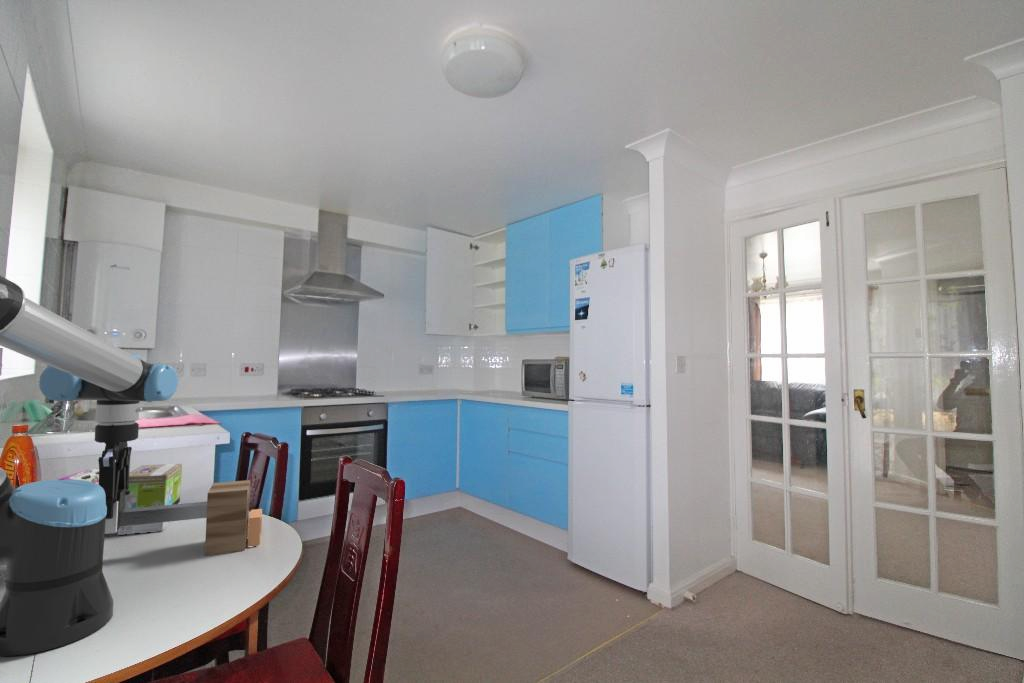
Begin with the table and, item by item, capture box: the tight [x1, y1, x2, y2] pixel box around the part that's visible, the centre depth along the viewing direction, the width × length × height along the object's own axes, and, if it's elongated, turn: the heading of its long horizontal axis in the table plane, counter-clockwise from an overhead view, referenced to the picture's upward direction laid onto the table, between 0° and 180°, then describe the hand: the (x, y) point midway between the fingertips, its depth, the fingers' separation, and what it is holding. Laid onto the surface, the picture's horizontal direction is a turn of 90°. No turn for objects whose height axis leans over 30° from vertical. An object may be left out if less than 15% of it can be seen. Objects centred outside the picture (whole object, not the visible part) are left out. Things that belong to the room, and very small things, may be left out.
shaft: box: [116, 488, 207, 531], centre depth 111 cm, size 4×24×8 cm, turn 115°
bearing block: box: [204, 479, 251, 557], centre depth 116 cm, size 10×8×14 cm
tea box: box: [117, 463, 183, 536], centre depth 129 cm, size 15×10×15 cm
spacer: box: [247, 508, 263, 547], centre depth 119 cm, size 7×2×7 cm, turn 24°
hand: (112, 529), depth 107 cm, fingers closed on shaft, 4 cm apart
